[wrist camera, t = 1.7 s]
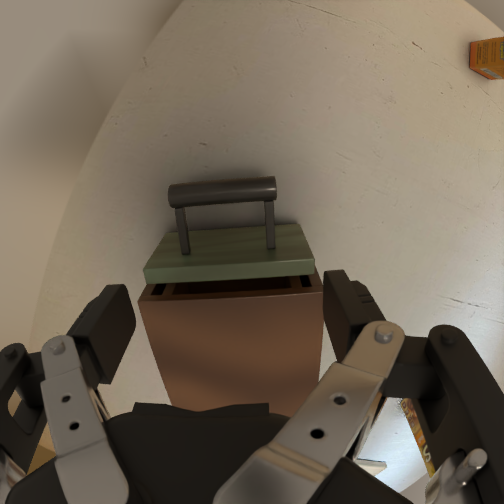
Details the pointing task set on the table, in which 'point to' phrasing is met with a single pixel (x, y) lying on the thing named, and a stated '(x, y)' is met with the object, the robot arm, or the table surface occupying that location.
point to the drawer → (229, 244)
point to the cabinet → (237, 345)
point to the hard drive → (371, 466)
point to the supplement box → (488, 57)
